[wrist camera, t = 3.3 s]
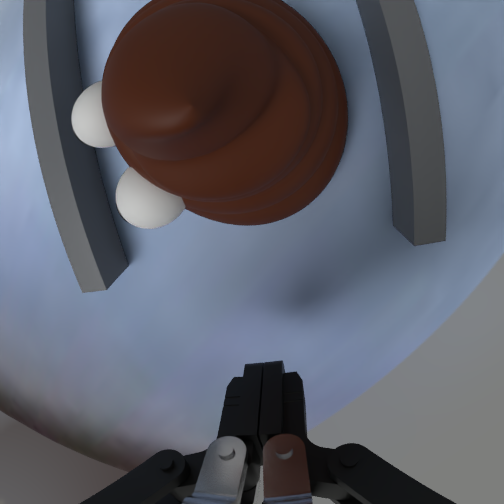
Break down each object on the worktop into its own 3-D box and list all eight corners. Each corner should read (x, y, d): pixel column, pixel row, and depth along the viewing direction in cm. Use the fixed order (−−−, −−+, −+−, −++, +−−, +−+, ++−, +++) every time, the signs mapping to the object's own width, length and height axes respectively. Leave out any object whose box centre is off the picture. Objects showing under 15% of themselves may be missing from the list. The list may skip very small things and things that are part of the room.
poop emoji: (372, 166, 12) (519, 248, 4) (203, 248, 14) (120, 407, 6) (262, -24, 9) (240, -173, 1) (101, 72, 11) (-66, 57, 3)
